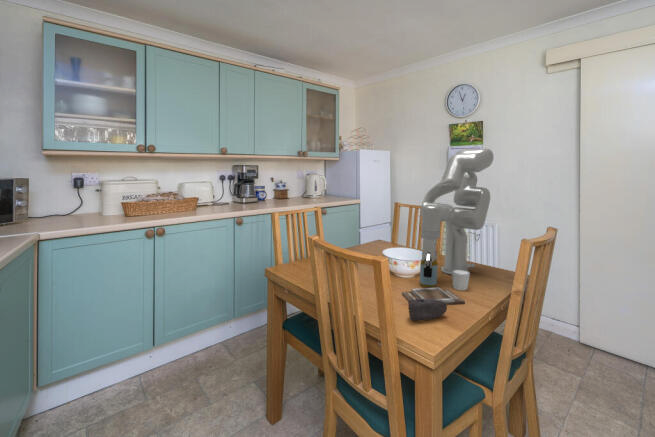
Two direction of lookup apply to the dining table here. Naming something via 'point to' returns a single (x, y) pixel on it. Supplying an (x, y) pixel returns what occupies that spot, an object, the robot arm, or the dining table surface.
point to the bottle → (433, 280)
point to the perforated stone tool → (426, 309)
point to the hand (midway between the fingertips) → (428, 273)
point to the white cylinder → (460, 279)
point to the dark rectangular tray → (434, 295)
